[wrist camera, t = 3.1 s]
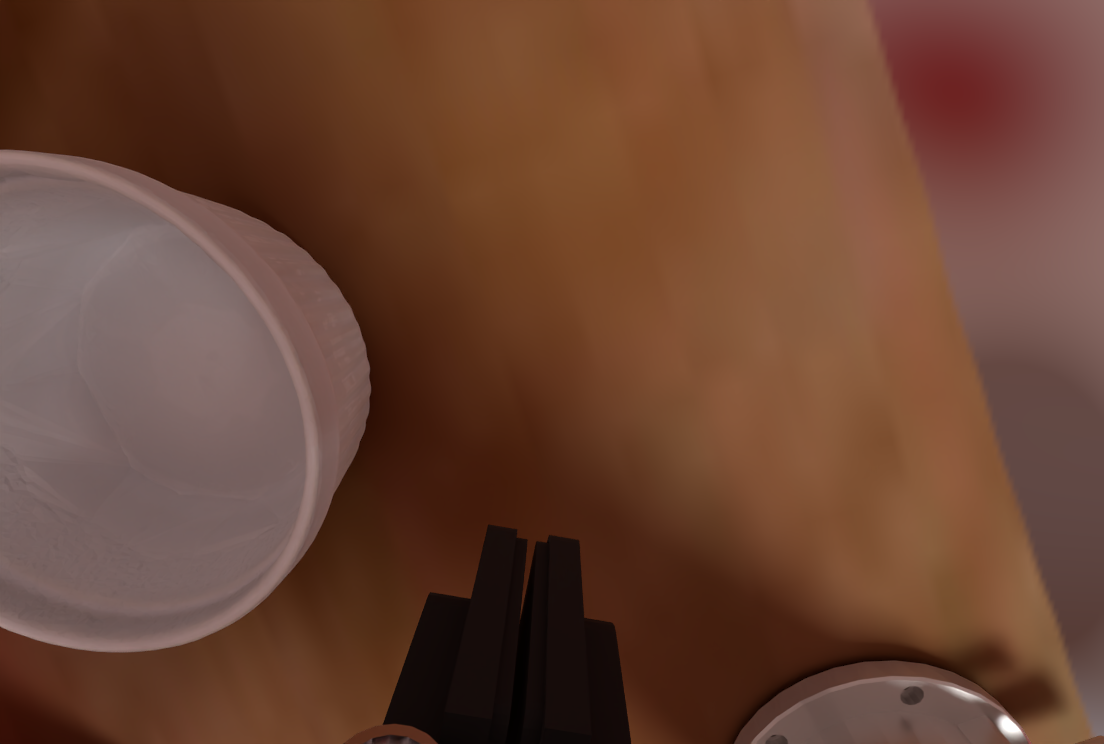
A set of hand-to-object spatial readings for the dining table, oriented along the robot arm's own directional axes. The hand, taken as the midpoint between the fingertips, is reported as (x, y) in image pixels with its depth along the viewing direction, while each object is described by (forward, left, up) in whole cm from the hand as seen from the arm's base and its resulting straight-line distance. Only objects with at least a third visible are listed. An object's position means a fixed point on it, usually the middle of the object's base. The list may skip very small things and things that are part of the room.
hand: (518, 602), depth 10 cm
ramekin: (+10, -7, -11) cm, 16 cm away
